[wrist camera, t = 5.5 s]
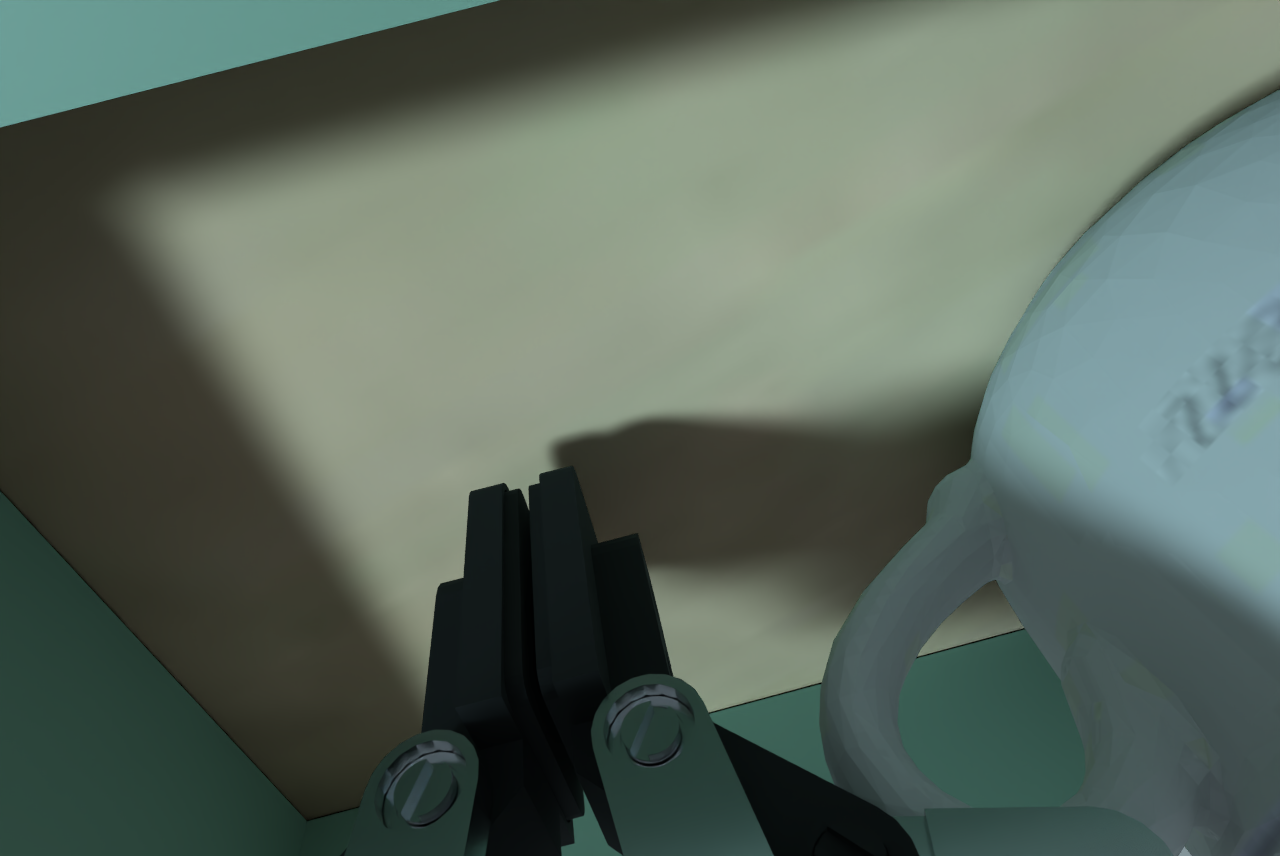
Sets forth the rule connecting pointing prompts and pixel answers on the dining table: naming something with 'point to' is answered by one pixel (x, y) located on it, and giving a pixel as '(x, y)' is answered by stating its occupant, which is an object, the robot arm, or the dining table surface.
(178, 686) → the green u-shaped border
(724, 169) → the dining table surface
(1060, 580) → the teacup
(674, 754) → the robot arm
